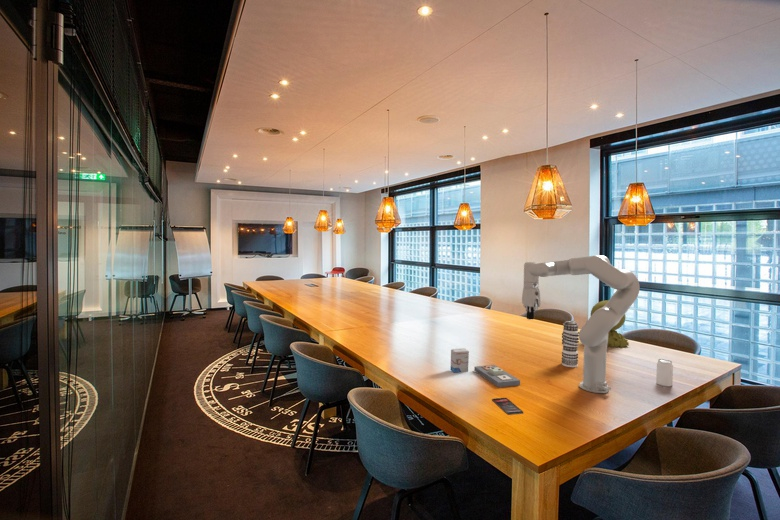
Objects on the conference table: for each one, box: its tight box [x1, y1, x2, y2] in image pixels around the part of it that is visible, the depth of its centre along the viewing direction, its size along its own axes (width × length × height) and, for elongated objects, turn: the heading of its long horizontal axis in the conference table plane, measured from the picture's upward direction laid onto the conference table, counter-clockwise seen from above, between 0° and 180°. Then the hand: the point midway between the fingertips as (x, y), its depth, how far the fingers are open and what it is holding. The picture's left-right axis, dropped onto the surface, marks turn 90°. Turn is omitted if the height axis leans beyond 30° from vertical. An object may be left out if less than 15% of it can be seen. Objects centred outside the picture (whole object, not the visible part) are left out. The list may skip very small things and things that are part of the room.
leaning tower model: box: [561, 320, 580, 368], centre depth 216 cm, size 9×9×25 cm
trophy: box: [590, 299, 630, 348], centre depth 263 cm, size 22×22×30 cm
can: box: [655, 358, 674, 388], centre depth 187 cm, size 6×6×12 cm
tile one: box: [497, 375, 512, 381], centre depth 188 cm, size 5×5×3 cm
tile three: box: [481, 365, 494, 371], centre depth 203 cm, size 5×5×3 cm
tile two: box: [489, 366, 504, 376], centre depth 195 cm, size 5×5×3 cm
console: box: [474, 364, 521, 388], centre depth 195 cm, size 24×12×2 cm, turn 16°
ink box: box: [450, 347, 470, 374], centre depth 205 cm, size 8×5×12 cm, turn 105°
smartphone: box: [491, 397, 524, 416], centre depth 162 cm, size 7×1×15 cm
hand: (530, 318), depth 203 cm, fingers closed
